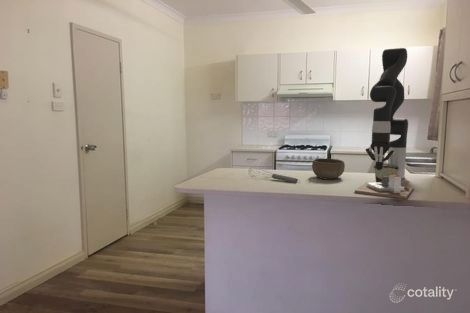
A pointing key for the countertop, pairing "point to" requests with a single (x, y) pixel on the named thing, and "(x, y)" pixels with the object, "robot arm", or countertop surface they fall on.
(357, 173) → the countertop surface
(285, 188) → the countertop surface
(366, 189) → the post board
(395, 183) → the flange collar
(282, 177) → the kitchen whisk
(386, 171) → the food container
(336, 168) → the bowl
